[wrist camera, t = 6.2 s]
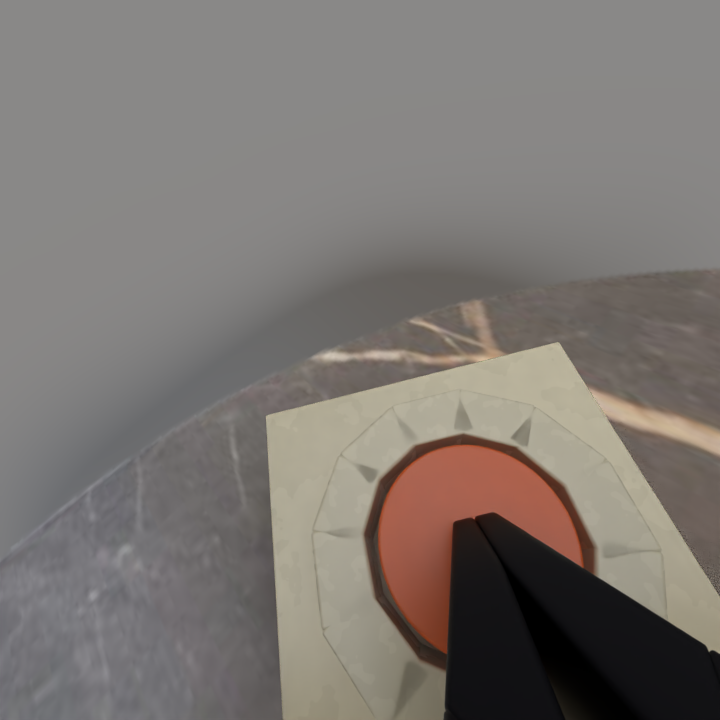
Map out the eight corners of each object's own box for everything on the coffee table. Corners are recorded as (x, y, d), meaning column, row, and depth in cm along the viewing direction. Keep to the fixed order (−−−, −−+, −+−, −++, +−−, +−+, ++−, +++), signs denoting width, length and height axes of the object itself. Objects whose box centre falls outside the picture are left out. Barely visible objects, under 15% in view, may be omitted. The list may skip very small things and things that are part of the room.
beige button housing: (679, 707, 10) (993, 874, 4) (342, 783, 10) (251, 1031, 5) (523, 400, 15) (580, 305, 10) (304, 454, 16) (241, 391, 10)
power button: (585, 625, 8) (633, 641, 6) (409, 665, 8) (405, 693, 6) (508, 451, 10) (526, 425, 8) (371, 484, 10) (360, 466, 8)
